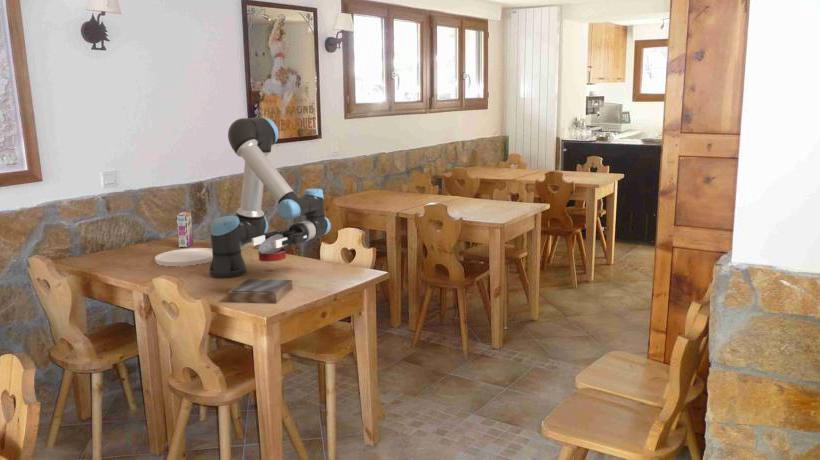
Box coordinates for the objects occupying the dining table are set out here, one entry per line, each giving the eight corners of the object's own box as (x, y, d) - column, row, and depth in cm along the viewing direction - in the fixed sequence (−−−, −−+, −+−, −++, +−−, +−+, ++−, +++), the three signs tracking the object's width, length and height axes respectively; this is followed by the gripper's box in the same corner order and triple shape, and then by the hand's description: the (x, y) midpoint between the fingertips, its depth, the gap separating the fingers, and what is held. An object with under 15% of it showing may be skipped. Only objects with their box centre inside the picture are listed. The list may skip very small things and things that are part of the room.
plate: (183, 270, 295) (183, 264, 295) (141, 263, 310) (141, 257, 310) (232, 256, 319) (231, 251, 318) (190, 250, 333) (190, 245, 333)
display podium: (228, 302, 246) (227, 291, 245) (247, 288, 263) (247, 278, 263) (276, 303, 243) (275, 292, 242) (292, 289, 260) (292, 279, 260)
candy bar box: (188, 247, 338) (186, 215, 335) (178, 248, 338) (175, 215, 335) (193, 243, 349) (191, 211, 346) (183, 243, 349) (181, 211, 346)
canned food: (286, 270, 253) (290, 249, 248) (259, 271, 249) (263, 249, 244) (281, 251, 262) (285, 230, 256) (254, 251, 258) (258, 230, 252)
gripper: (325, 243, 263) (289, 256, 244) (279, 239, 273) (241, 250, 254) (324, 224, 262) (288, 235, 242) (278, 220, 272) (239, 230, 253)
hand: (264, 243), depth 248 cm, fingers closed on canned food, 10 cm apart
